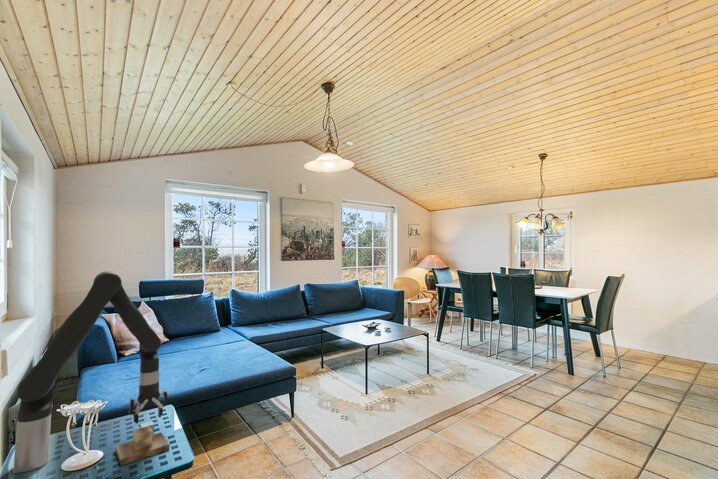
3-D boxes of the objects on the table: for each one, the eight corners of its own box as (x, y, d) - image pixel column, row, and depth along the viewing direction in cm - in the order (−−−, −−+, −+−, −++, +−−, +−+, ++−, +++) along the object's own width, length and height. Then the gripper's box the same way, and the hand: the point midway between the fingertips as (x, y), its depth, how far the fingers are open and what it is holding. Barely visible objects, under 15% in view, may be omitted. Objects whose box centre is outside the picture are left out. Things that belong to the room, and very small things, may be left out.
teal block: (141, 438, 144) (142, 427, 145) (139, 434, 148) (140, 424, 148) (153, 435, 147) (154, 424, 148) (151, 431, 151) (151, 420, 151)
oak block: (135, 450, 132) (136, 435, 132) (132, 444, 136) (133, 430, 136) (151, 445, 135) (152, 430, 136) (148, 439, 139) (149, 425, 140)
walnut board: (120, 465, 125) (121, 459, 125) (115, 451, 135) (115, 445, 135) (169, 449, 136) (169, 444, 136) (161, 437, 146) (161, 432, 146)
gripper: (131, 388, 141) (130, 428, 141) (169, 379, 151) (169, 417, 150) (128, 383, 147) (127, 422, 146) (165, 375, 157) (164, 411, 156)
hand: (148, 419), depth 148 cm, fingers open, 8 cm apart
